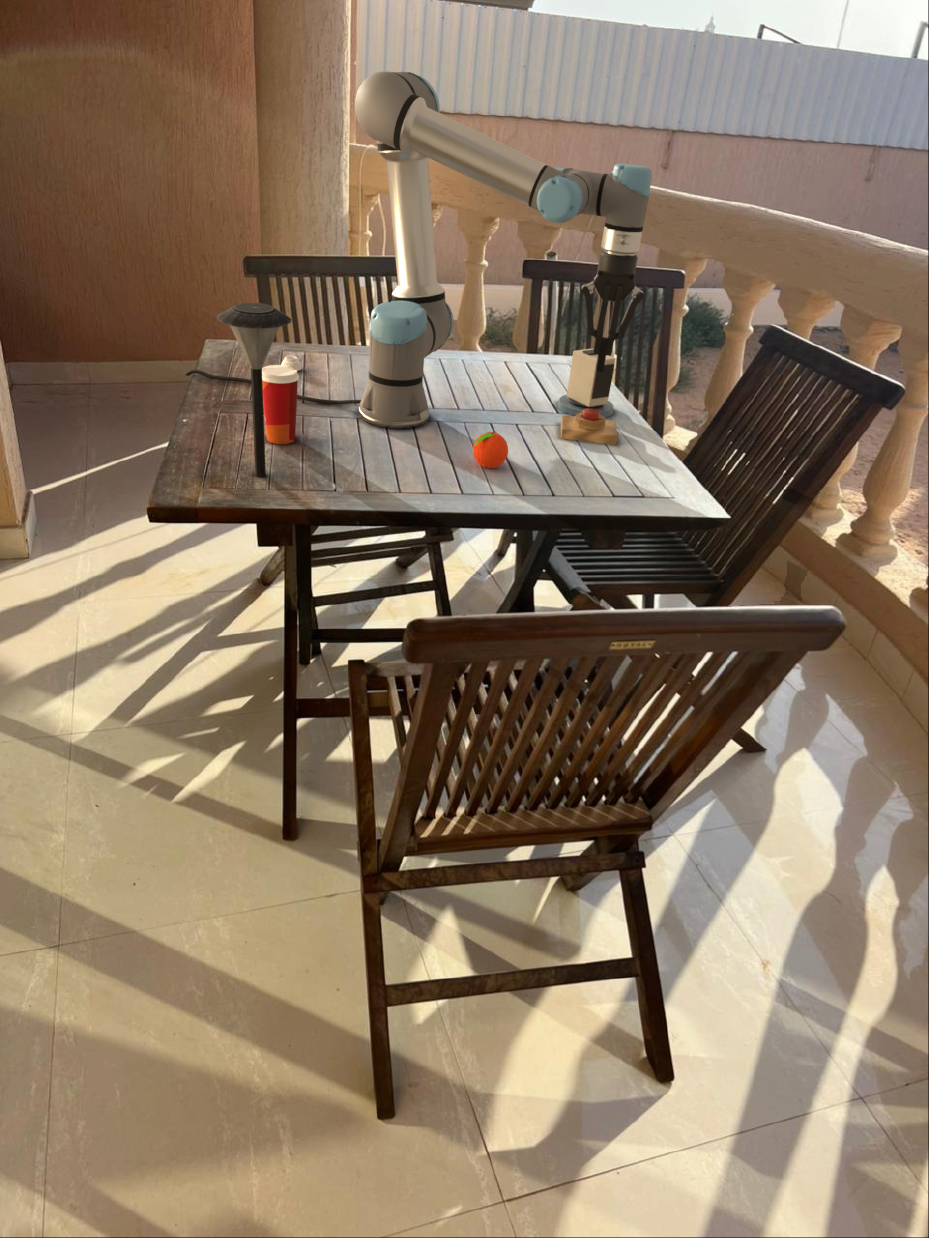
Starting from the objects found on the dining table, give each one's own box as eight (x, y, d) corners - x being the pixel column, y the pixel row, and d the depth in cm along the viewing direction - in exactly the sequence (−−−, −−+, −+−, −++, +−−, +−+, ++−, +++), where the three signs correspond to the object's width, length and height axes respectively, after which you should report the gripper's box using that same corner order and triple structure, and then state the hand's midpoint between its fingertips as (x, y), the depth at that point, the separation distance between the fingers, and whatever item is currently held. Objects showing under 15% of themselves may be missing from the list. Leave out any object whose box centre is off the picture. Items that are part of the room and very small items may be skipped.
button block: (560, 438, 191) (563, 421, 188) (560, 424, 198) (563, 407, 196) (615, 445, 190) (619, 427, 188) (613, 430, 198) (616, 413, 196)
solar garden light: (298, 487, 158) (296, 318, 142) (228, 490, 155) (217, 316, 138) (290, 460, 168) (286, 299, 151) (224, 462, 164) (213, 297, 148)
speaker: (561, 398, 208) (569, 349, 202) (587, 394, 213) (595, 346, 206) (585, 410, 202) (594, 360, 196) (612, 405, 207) (621, 356, 201)
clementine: (483, 477, 169) (487, 442, 165) (460, 465, 173) (463, 430, 170) (513, 469, 174) (517, 435, 170) (489, 457, 178) (493, 423, 174)
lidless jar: (305, 371, 214) (294, 365, 216) (305, 359, 212) (294, 353, 215) (288, 374, 211) (276, 368, 213) (287, 361, 209) (276, 356, 212)
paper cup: (285, 429, 181) (284, 361, 173) (307, 441, 177) (307, 372, 169) (253, 436, 176) (250, 367, 168) (275, 449, 172) (272, 379, 164)
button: (582, 420, 191) (583, 413, 190) (582, 415, 194) (583, 407, 193) (598, 422, 191) (600, 414, 190) (598, 417, 194) (599, 409, 193)
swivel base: (558, 415, 203) (559, 408, 202) (557, 397, 214) (558, 391, 213) (614, 421, 203) (615, 415, 202) (610, 403, 214) (611, 397, 213)
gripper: (587, 252, 171) (569, 371, 183) (654, 259, 170) (631, 378, 183) (586, 245, 177) (568, 361, 190) (650, 252, 177) (628, 368, 189)
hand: (599, 369), depth 186 cm, fingers closed
